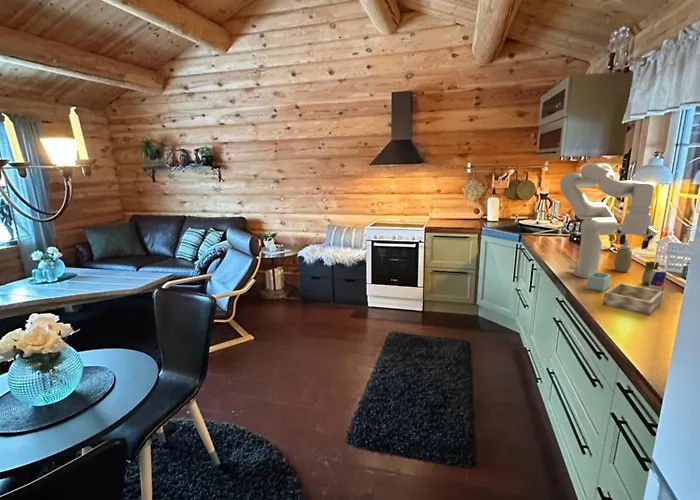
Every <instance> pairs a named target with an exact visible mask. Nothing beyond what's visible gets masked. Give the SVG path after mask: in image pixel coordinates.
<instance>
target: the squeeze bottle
mask: <svg viewBox="0 0 700 500" xmlns="http://www.w3.org/2000/svg"><path fill="white" fill-rule="evenodd" d="M632 253H633V252H632V250H631V246H630V245H629V240H628V239H627V238H626V239H625V244H621V245H619V248H618V249H617V251H616V254H615V258H614V261H613V267H614V270H615V271H616V272H619V273H627V272H629V270H630V268H631V267H632V256H633V255H632Z"/></svg>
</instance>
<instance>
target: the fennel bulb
mask: <svg viewBox="0 0 700 500" xmlns="http://www.w3.org/2000/svg"><path fill="white" fill-rule="evenodd" d="M659 264H660V262H659V261H656V262H655V261H645V267H644V270H643V271H644V272H643V274H642V278H641V283H643V284H644V285H648V286H649V282H650V277H651V271H652V270H653V269H659Z"/></svg>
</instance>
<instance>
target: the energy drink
mask: <svg viewBox="0 0 700 500" xmlns="http://www.w3.org/2000/svg"><path fill="white" fill-rule="evenodd" d="M666 278H667V271H666V270H663V269H660V268H658V269H653V270H652V271H651V277H650V282H649V285H648V288H649V289H654V290H659V291H663V292H664V288H665V283H666V280H667V279H666Z"/></svg>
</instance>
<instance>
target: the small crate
mask: <svg viewBox="0 0 700 500" xmlns="http://www.w3.org/2000/svg"><path fill="white" fill-rule="evenodd" d="M611 279H612V274H609V273H603V272H599V271H598V272H594V273H592V274H590V275H588V278H587V281H586V287H585V288H586V289H588V290H591V291H596V292H601V293H604V292H606V291H607V290H609V289H610V285H611Z"/></svg>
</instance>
